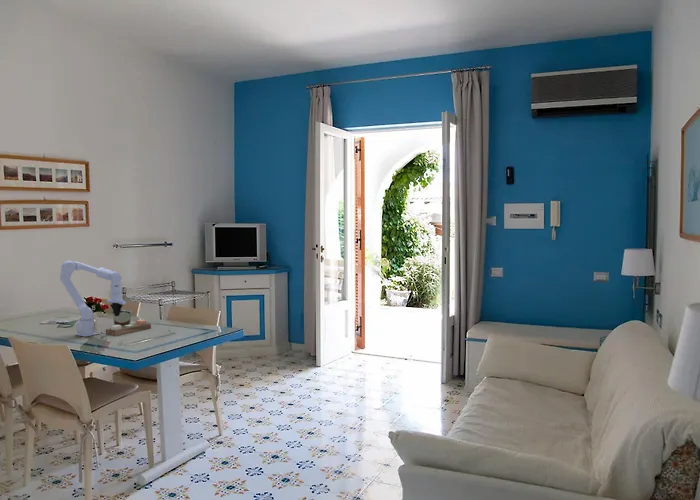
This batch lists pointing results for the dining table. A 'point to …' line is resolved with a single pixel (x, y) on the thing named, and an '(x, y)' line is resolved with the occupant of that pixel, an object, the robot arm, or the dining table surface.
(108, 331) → the button panel
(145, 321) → the terracotta button
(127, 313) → the food container
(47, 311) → the dining table surface
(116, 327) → the cream button
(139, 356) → the dining table surface
